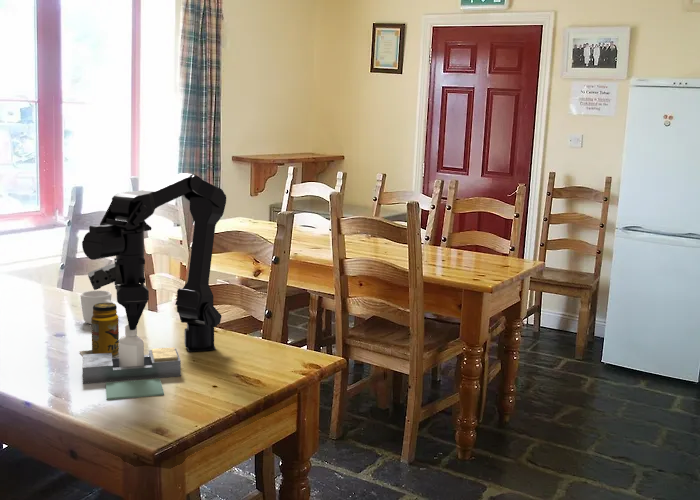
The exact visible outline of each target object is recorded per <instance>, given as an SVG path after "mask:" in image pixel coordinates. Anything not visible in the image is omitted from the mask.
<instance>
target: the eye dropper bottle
mask: <svg viewBox="0 0 700 500" xmlns="http://www.w3.org/2000/svg"><path fill="white" fill-rule="evenodd" d="M124 328H125V329H124V333H125V335H124V336H121V337H119V367H131V366H144V355H145V342H144V340H143V339H142V338H141V337H140V336H138V326H137V327H136V329H135V330H130V329H129V324H126V325H125V326H124Z"/></svg>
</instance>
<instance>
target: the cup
mask: <svg viewBox="0 0 700 500" xmlns="http://www.w3.org/2000/svg"><path fill="white" fill-rule="evenodd" d="M79 295H80V305H81V311H82V318H83V321H84V323H86V324H90V325H91V318H92V316H93V306H94V305H95V304H98V303H114V302H113V301H112V292H111V291H109V290H108V291H107V290H88V291H84V292H81V293H80V294H79Z"/></svg>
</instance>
